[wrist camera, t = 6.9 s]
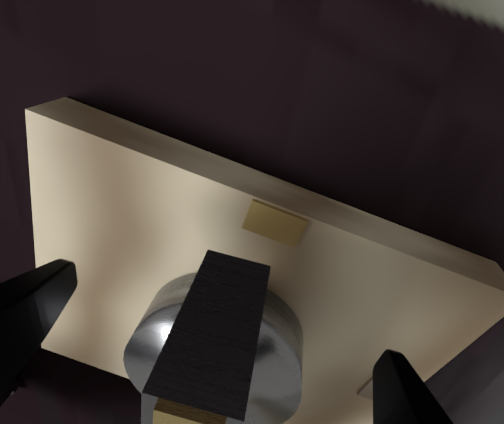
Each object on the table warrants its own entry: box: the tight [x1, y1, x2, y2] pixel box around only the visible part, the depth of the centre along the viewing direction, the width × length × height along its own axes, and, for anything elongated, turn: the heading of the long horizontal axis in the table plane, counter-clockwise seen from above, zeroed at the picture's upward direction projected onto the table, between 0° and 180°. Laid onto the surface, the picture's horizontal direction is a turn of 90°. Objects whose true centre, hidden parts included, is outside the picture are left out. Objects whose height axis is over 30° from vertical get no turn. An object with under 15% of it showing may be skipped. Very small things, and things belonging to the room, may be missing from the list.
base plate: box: [25, 97, 504, 424], centre depth 15 cm, size 18×14×2 cm
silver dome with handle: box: [123, 250, 303, 424], centre depth 11 cm, size 13×7×7 cm, turn 169°
